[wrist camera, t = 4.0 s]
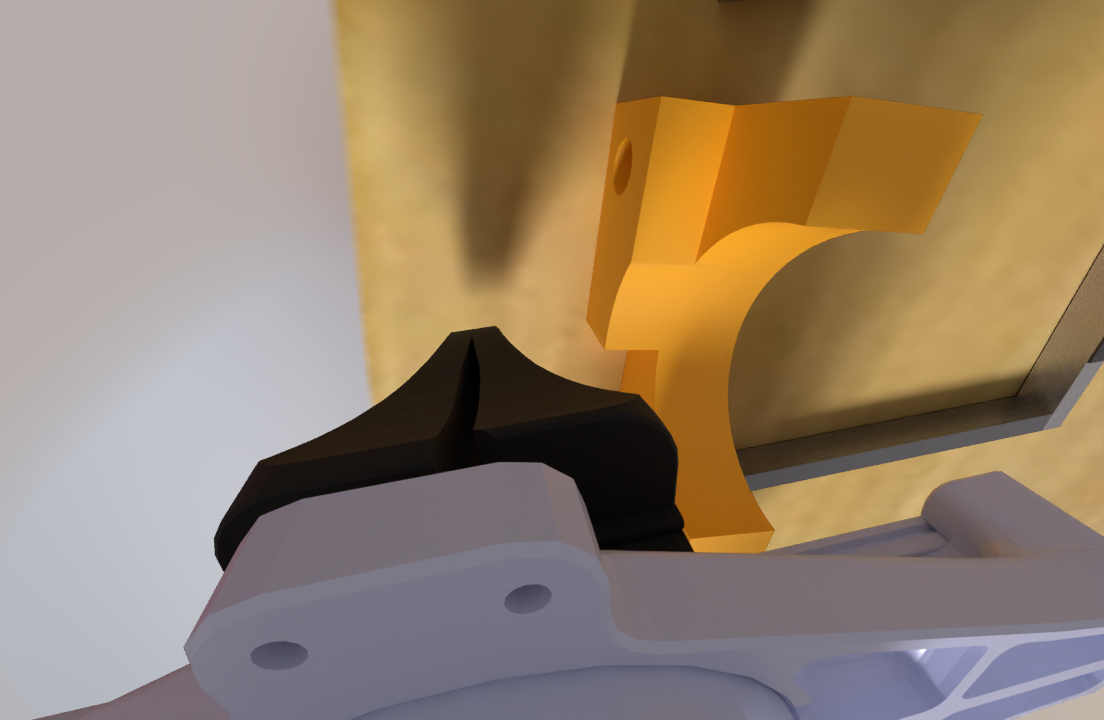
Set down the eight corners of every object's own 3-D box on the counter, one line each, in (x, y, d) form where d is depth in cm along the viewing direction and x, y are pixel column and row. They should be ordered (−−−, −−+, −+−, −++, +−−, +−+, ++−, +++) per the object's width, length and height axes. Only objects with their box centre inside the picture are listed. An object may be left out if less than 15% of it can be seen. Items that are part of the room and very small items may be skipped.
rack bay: (1023, 408, 21) (1062, 428, 20) (673, 478, 19) (689, 505, 18) (1317, -77, 12) (1423, -103, 11) (723, -51, 10) (763, -80, 9)
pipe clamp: (614, 103, 12) (751, 80, 6) (752, 120, 12) (983, 114, 7) (568, 442, 17) (616, 591, 12) (665, 437, 18) (753, 574, 13)
